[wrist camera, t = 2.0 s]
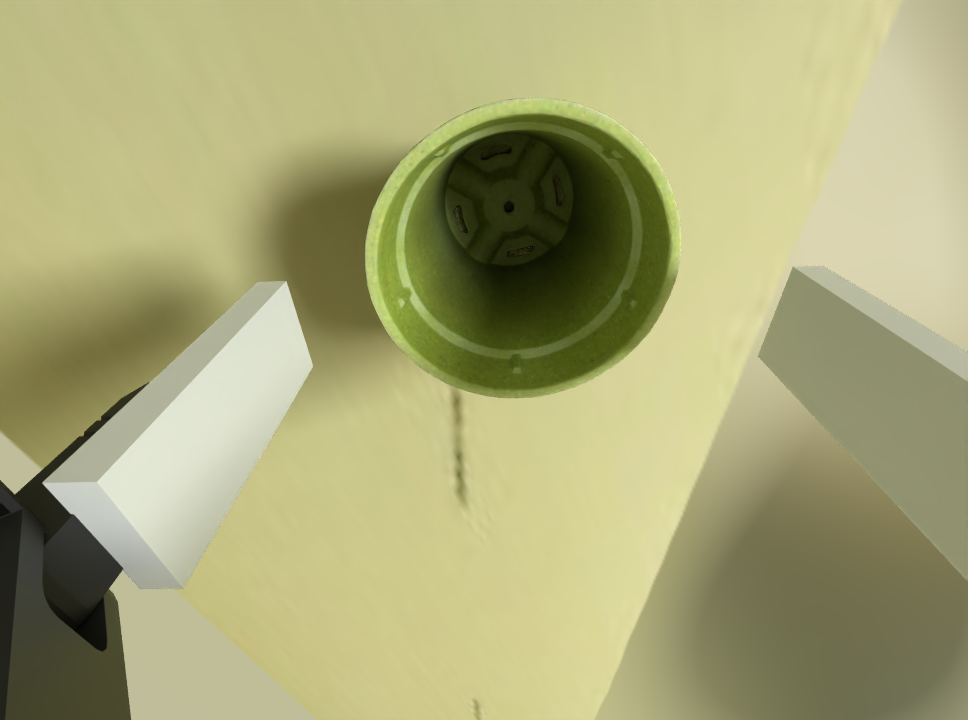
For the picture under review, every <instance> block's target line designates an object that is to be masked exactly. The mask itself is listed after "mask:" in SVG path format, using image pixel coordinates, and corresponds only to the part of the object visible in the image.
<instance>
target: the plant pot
mask: <svg viewBox="0 0 968 720" xmlns="http://www.w3.org/2000/svg"><path fill="white" fill-rule="evenodd" d="M500 145H508V146H510V147H511V148H512V151H511V152H510V153H505V154H499V155H495V156H493V157H490V158H489V159H487V160H482V159H481V155H482V153H483V152H484V151H485V150H486V149H489V148H494V147H497V146H500ZM554 175H555V176H558V177H559V178H560V184H561V189H562V190H563V193H564V199H563V203H562V204H561V205H560V206H558V205H557V204H556V193H555V187H554V183H553V181H552V177H553V176H554ZM508 201H510V202H513V204H514V210H513V211H512V212H510V213H508V212H506V211H505V210H504V203H506V202H508ZM458 205H460V207H461V210H462V215H463V220H464V223H465V226H466V227H467V230H468V232H467V233H465V232H462V231H461V229H460V228H459V225H458V222H457V220H456V217H455V212H454V210H455V209H456V206H458ZM531 245H532V246H534V247H533V248H532V250H531V251H529V252H527V253H526V254H524V255H521V256H517V257H510V256H507V251H509V250H516V249H521V248H525V247H530V246H531ZM680 253H681V229H680V219H679V213H678V208H677V204H676V201H675V198H674V195H673V191H672V188H671V186H670V183H669V181H668V179H667V177H666V175H665V173H664V171H663V169H662V167H661V166H660V164H659V163H658V161H657V160H656V158H655V157H654V156H653V155H652V153H651V152H650V151H649V150H648V149H647V148H646V147H645V145H644V144H643V143H642V142H641V141H640V140H639V139H638V138H637V137H635V136H634V135H633V134H632V133H631V132H630V131H629V130H627V129H626V128H625V127H623V126H622V125H621V124H619V123H618V122H616V121H615V120H613V119H612V118H611V117H608V116H606V115H605V114H603V113H601V112H599V111H596V110H594V109H591V108H589V107H586V106H583V105H580V104H577V103H573V102H568V101H565V100H559V99H548V98H519V99H510V100H505V101H500V102H495V103H491V104H488V105H484V106H481V107H478V108H475V109H472V110H470V111H468V112H466V113H464V114H461V115H459V116H457V117H455V118H453V119H452V120H450V121H448V122H446V123H445V124H443V125H442V126H440V127H439V128H437V129H436V130H434V131H433V132H432V133H430V134H429V135H428V136H426V137H425V138H424V139H423V140H421V141H420V142H419V143H418V144H417V145H416V146H415V147H413V148H412V149H411V150H410V151H409V152H408V153H407V155H406V156H405V157H404V158H403V159H402V160H401V161H400V163H399V164H398V165H397V166H396V168H395V169H394V171H393V172H392V173H391V175H390V176H389V178H388V180H387V181H386V183H385V185H384V186H383V188H382V190H381V192H380V194H379V196H378V199H377V201H376V203H375V205H374V208H373V211H372V214H371V217H370V220H369V224H368V229H367V234H366V240H365V272H366V279H367V285H368V289H369V293H370V297H371V300H372V303H373V305H374V308H375V310H376V312H377V314H378V316H379V319H380V321H381V322H382V324H383V326H384V328H385V330H386V331H387V333H388V334H389V336H390V337H391V338H392V340H393V341H394V342H395V344H396V345H397V346H398V347H399V348H400V349H401V350H402V351H403V352H404V353H405V354H406V355H407V356H408V357H409V358H410V359H411V360H412V361H413V362H414V363H416V364H417V365H418V366H419V367H420V368H422V369H423V370H424V371H426V372H427V373H429V374H431V375H433V376H434V377H436V378H438V379H439V380H441V381H443V382H445V383H447V384H450V385H451V386H454V387H456V388H459V389H462V390H465V391H468V392H472V393H476V394H480V395H485V396H490V397H498V398H532V397H540V396H545V395H550V394H553V393H557V392H560V391H564V390H567V389H570V388H573V387H576V386H578V385H581V384H583V383H585V382H587V381H589V380H592V379H593V378H595V377H596V376H598V375H600V374H602V373H603V372H605V371H606V370H608V369H610V368H612V367H613V366H614V365H616V364H617V363H619V362H620V361H621V360H622V359H624V358H625V357H626V356H627V355H628V354H629V353H630V352H632V351H633V350H634V349H635V348H636V347H637V345H638V344H639V343H640V342H641V341H642V340H643V339H644V338H645V337H646V335H647V334H648V333H649V332H650V331H651V329H652V327H653V326H654V324H655V323H656V321H657V319H658V318H659V316H660V314H661V313H662V310H663V308H664V306H665V304H666V302H667V300H668V298H669V296H670V294H671V291H672V288H673V286H674V283H675V280H676V277H677V273H678V267H679V262H680Z"/></svg>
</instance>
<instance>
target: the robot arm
mask: <svg viewBox="0 0 968 720" xmlns="http://www.w3.org/2000/svg"><path fill="white" fill-rule="evenodd" d="M758 357H759V358H760V359H761V360H762V361H763V362H764V363H765V364H766V366H767V367H768V368H769V369H770V370H771V371H772V372H773V373H774V374H775V375H776V376H777V377H778V378H779V380H780V381H781V382H782V383H783V384H784V385H785V386H786V387H787V388H788V389H789V390H790V391H791V392H792V393H793V395H794V396H795V397H796V398H797V399H798V400H799V401H800V402H801V403H802V404H803V405H804V406H805V407H806V408H807V409H808V411H809V412H810V413H811V414H812V415H813V416H814V417H815V418H816V419H817V420H818V421H819V422H820V423H821V425H822V426H823V427H824V428H825V429H826V430H827V431H828V432H829V433H830V434H831V435H832V436H833V437H834V438H835V439H836V441H837V442H838V443H839V444H840V445H841V446H842V447H843V448H844V449H845V450H846V451H847V452H848V454H850V456H851V457H852V458H853V459H854V460H855V461H856V462H857V463H858V464H859V465H860V466H861V467H862V468H863V470H864V471H865V472H866V473H867V474H868V475H869V476H870V477H871V478H872V479H873V480H874V481H875V482H876V483H877V485H878V486H879V487H880V488H881V489H882V490H883V491H884V492H885V493H886V494H887V495H888V496H889V497H890V499H891V500H892V501H893V502H894V503H895V504H896V505H897V506H898V507H899V508H900V509H901V510H902V511H903V512H904V514H905V515H906V516H907V517H908V518H909V519H910V520H911V521H912V522H913V523H914V524H915V525H916V526H917V528H918V529H919V530H920V531H921V532H922V533H923V534H924V535H925V536H926V537H927V538H928V539H929V540H930V541H931V543H932V544H933V545H934V546H935V547H936V548H937V549H938V550H939V551H940V552H941V553H942V554H943V555H944V557H946V558H947V560H948V561H949V562H950V563H951V564H952V565H953V566H954V567H955V568H956V569H957V570H958V571H959V572H960V574H962V576H963V577H964V578H965V579H966V580H967V581H968V351H966V350H964V349H963V348H961V347H959V346H957V345H956V344H954V343H952V342H951V341H949V340H947V339H946V338H944V337H942V336H941V335H939V334H937V333H936V332H934V331H932V330H930V329H929V328H927V327H925V326H924V325H922V324H920V323H919V322H917V321H915V320H914V319H912V318H910V317H909V316H907V315H905V314H903V313H902V312H900V311H898V310H897V309H895V308H893V307H892V306H890V305H888V304H887V303H885V302H883V301H882V300H880V299H878V298H877V297H875V296H873V295H872V294H870V293H868V292H867V291H865V290H863V289H861V288H860V287H858V286H856V285H855V284H853V283H851V282H849V281H848V280H846V279H845V278H843V277H841V276H839V275H838V274H836V273H834V272H833V271H831V270H829V269H828V268H826V267H824V266H804V267H793V268H792V271H791V273H790V276H789V278H788V281H787V283H786V286H785V288H784V291H783V293H782V296H781V299H780V301H779V304H778V306H777V309H776V311H775V314H774V317H773V319H772V322H771V324H770V327H769V329H768V332H767V334H766V337H765V340H764V342H763V345H762V347H761V350H760V352H759V355H758ZM312 368H313V364H312V361H311V358H310V355H309V351H308V348H307V345H306V342H305V339H304V336H303V332H302V329H301V326H300V323H299V320H298V317H297V313H296V310H295V307H294V304H293V301H292V297H291V294H290V291H289V288H288V285H287V282H286V281H271V282H257V283H256V284H255V285H254V286H253V287H252V288H251V289H250V290H248V291H247V292H246V293H245V294H244V295H243V296H242V297H241V298H240V299H239V300H238V301H237V302H236V303H235V304H233V305H232V306H231V307H230V308H229V309H228V310H227V311H226V312H225V313H224V314H223V315H222V316H221V317H219V318H218V319H217V320H216V321H215V322H214V323H213V324H212V325H211V326H210V327H209V328H208V329H207V330H206V331H204V332H203V333H202V334H201V335H200V336H199V337H198V338H197V339H196V340H195V341H194V342H193V343H192V344H191V345H189V346H188V347H187V348H186V349H185V350H184V351H183V352H182V353H181V354H180V355H179V356H178V357H177V358H176V359H174V360H173V361H172V362H171V363H170V364H169V365H168V366H167V367H166V368H165V369H164V370H163V371H162V372H160V373H159V374H158V375H157V376H156V377H155V378H154V379H153V380H152V381H151V382H148V383H147V384H145V385H143V386H142V387H140V388H138V389H137V390H135V391H133V392H131V393H130V394H128V395H126V396H125V397H123V398H121V399H120V400H119V401H118V402H117V403H116V404H115V405H114V406H112V407H111V408H110V409H109V410H108V411H107V412H106V413H105V414H104V415H103V416H101V420H100V421H96V422H95V423H94V424H93V425H91V426H90V427H89V428H88V429H87V430H86V431H85V432H84V436H79V437H78V438H77V439H76V440H75V441H74V442H73V443H72V444H70V445H69V446H68V447H67V448H66V449H65V450H64V451H63V452H62V453H60V454H59V455H58V456H57V457H56V458H55V459H54V460H53V461H52V462H51V463H49V464H48V465H47V466H46V467H45V468H44V469H43V470H42V471H41V472H40V473H38V474H37V475H36V476H35V477H34V478H33V479H32V480H31V481H30V482H28V483H27V484H26V485H25V486H24V487H23V488H22V489H21V490H20V491H18V492H17V493H16V494H13V492H12V491H10V490H9V488H7V487H6V485H5V484H4V483H3V482H1V480H0V720H131V715H130V706H129V698H128V689H127V680H126V672H125V662H124V653H123V644H122V635H121V627H120V618H119V609H118V602H117V600H116V598H115V596H114V594H113V593H112V592H111V591H110V590H109V588H110V586H111V585H112V584H113V582H114V581H115V580H116V578H117V577H118V575H119V574H120V573H121V571H122V570H123V571H124V572H125V573H126V574H127V575H128V577H129V578H130V579H131V580H132V581H133V582H134V583H135V584H136V585H137V586H138V588H140V589H184V587H185V585H186V584H187V582H188V580H189V578H190V577H191V575H192V573H193V572H194V570H195V568H196V566H197V565H198V563H199V561H200V560H201V558H202V556H203V554H204V553H205V551H206V549H207V548H208V546H209V544H210V542H211V541H212V539H213V537H214V536H215V534H216V532H217V530H218V529H219V527H220V525H221V524H222V522H223V520H224V518H225V517H226V515H227V513H228V512H229V510H230V508H231V506H232V505H233V503H234V501H235V500H236V498H237V496H238V494H239V493H240V491H241V489H242V488H243V486H244V484H245V483H246V481H247V479H248V477H249V476H250V474H251V472H252V471H253V469H254V467H255V465H256V464H257V462H258V460H259V459H260V457H261V455H262V453H263V452H264V450H265V448H266V447H267V445H268V443H269V441H270V440H271V438H272V436H273V435H274V433H275V431H276V429H277V428H278V426H279V424H280V423H281V421H282V419H283V417H284V416H285V414H286V412H287V411H288V409H289V407H290V405H291V404H292V402H293V400H294V399H295V397H296V395H297V393H298V392H299V390H300V388H301V387H302V385H303V383H304V381H305V380H306V378H307V376H308V375H309V373H310V371H311V370H312Z"/></svg>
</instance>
